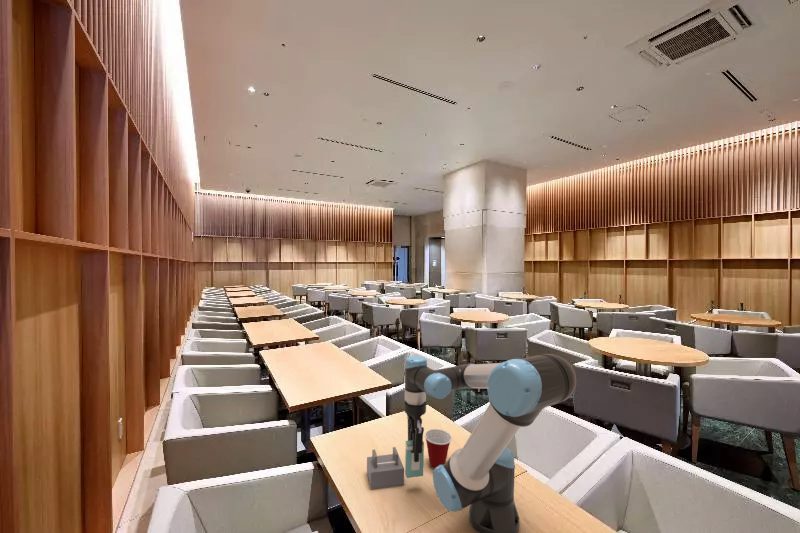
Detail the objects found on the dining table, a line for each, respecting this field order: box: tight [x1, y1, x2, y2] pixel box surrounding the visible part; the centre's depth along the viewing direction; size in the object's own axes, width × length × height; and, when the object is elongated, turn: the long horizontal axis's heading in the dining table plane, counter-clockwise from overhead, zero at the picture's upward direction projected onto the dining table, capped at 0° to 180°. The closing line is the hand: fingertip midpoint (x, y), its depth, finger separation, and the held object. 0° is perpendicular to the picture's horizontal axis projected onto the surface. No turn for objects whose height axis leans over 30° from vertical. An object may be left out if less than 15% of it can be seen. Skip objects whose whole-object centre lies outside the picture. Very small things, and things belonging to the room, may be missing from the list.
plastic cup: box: [424, 428, 453, 469], centre depth 139 cm, size 11×11×12 cm
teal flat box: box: [404, 440, 425, 479], centre depth 125 cm, size 2×6×12 cm, turn 103°
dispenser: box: [366, 446, 405, 491], centre depth 131 cm, size 10×12×10 cm
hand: (414, 466), depth 125 cm, fingers closed on teal flat box, 2 cm apart
